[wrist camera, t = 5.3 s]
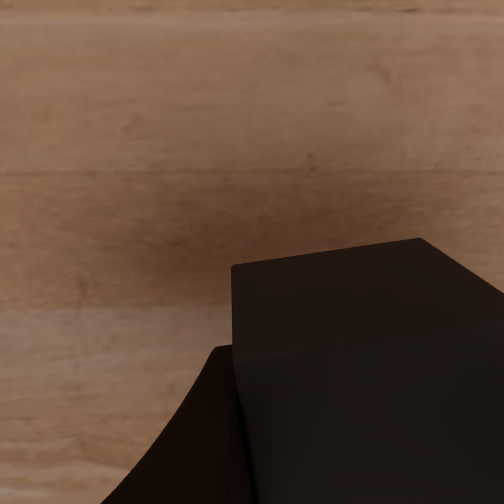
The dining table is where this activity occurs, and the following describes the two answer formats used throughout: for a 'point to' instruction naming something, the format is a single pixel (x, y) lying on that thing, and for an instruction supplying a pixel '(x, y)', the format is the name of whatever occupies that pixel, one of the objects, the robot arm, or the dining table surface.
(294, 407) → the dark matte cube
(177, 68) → the dining table surface
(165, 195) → the dining table surface
